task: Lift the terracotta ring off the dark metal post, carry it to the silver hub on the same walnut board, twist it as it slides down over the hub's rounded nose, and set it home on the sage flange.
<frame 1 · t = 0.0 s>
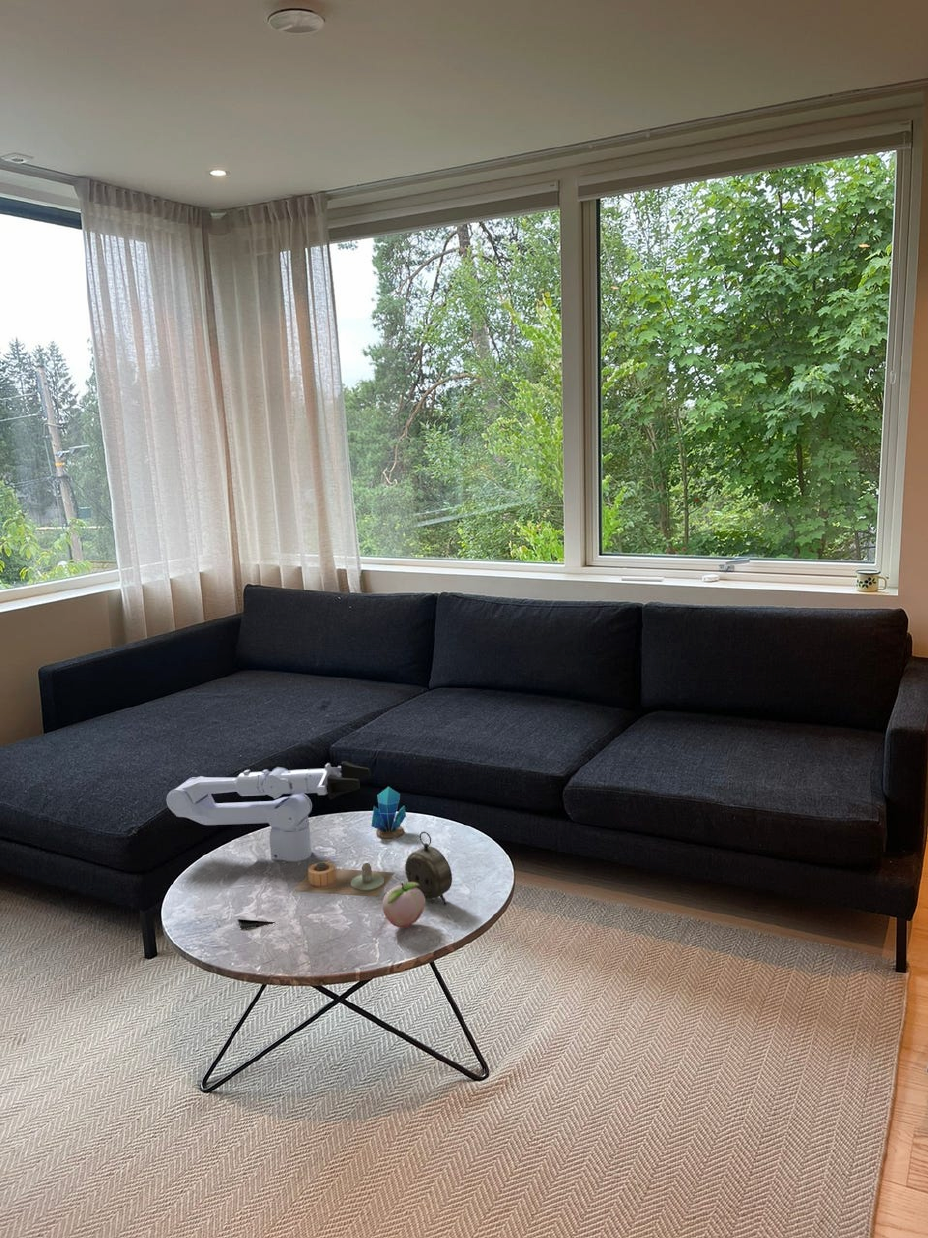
hand: (364, 778, 225), 22 cm above the table, tool horizontal, fingers open, 7 cm apart
gemstone: (389, 834, 247), on the table
stand board: (345, 886, 218), on the table
decorative fruit: (404, 928, 198), on the table
alarm clock: (428, 901, 209), on the table
ring: (322, 880, 219), point 1 cm above the table, touching stand board
black tapered piece: (254, 913, 209), on the table
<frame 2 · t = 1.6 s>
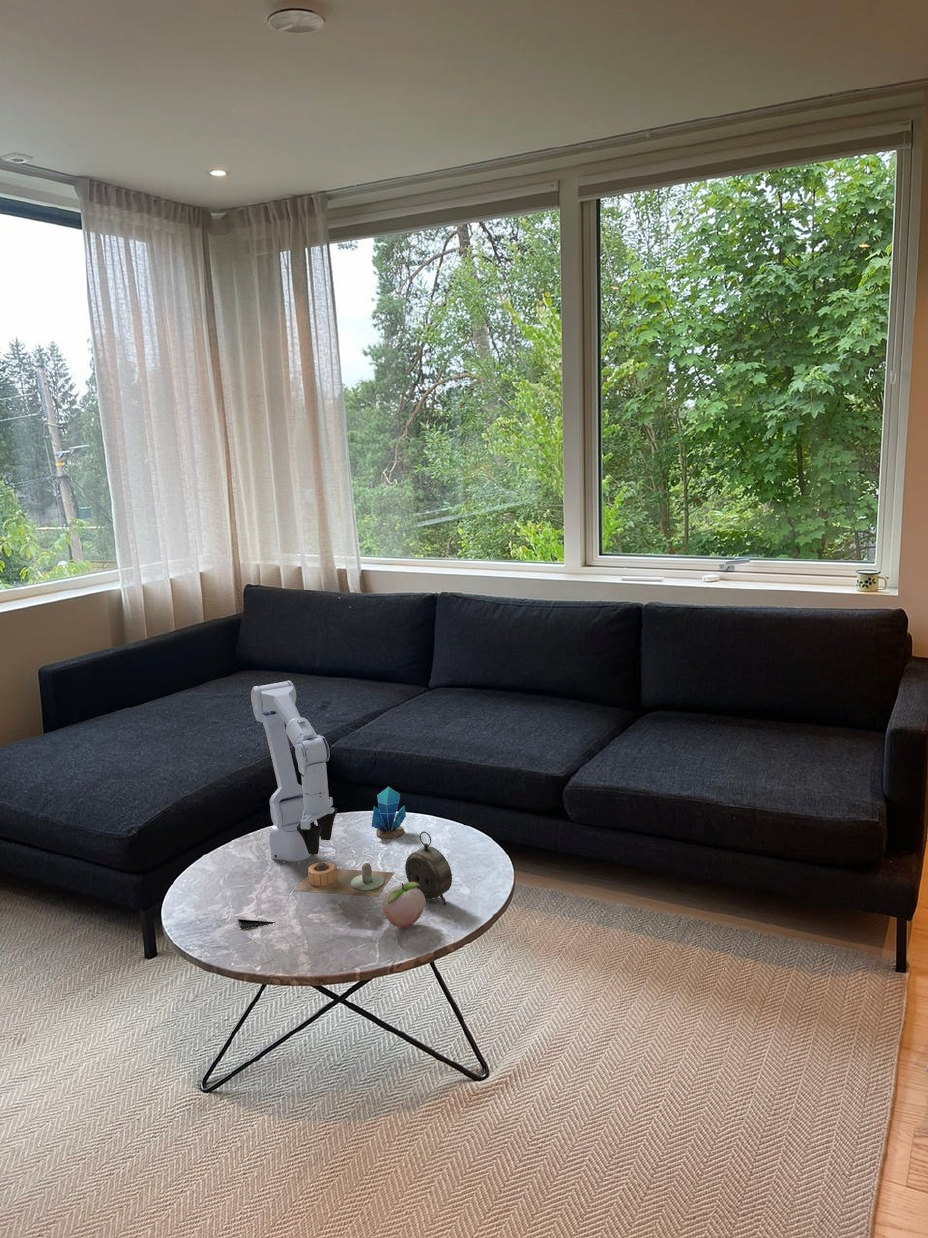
hand: (319, 846, 218), 9 cm above the table, tool pointing down, fingers open, 7 cm apart
nothing on the table moved.
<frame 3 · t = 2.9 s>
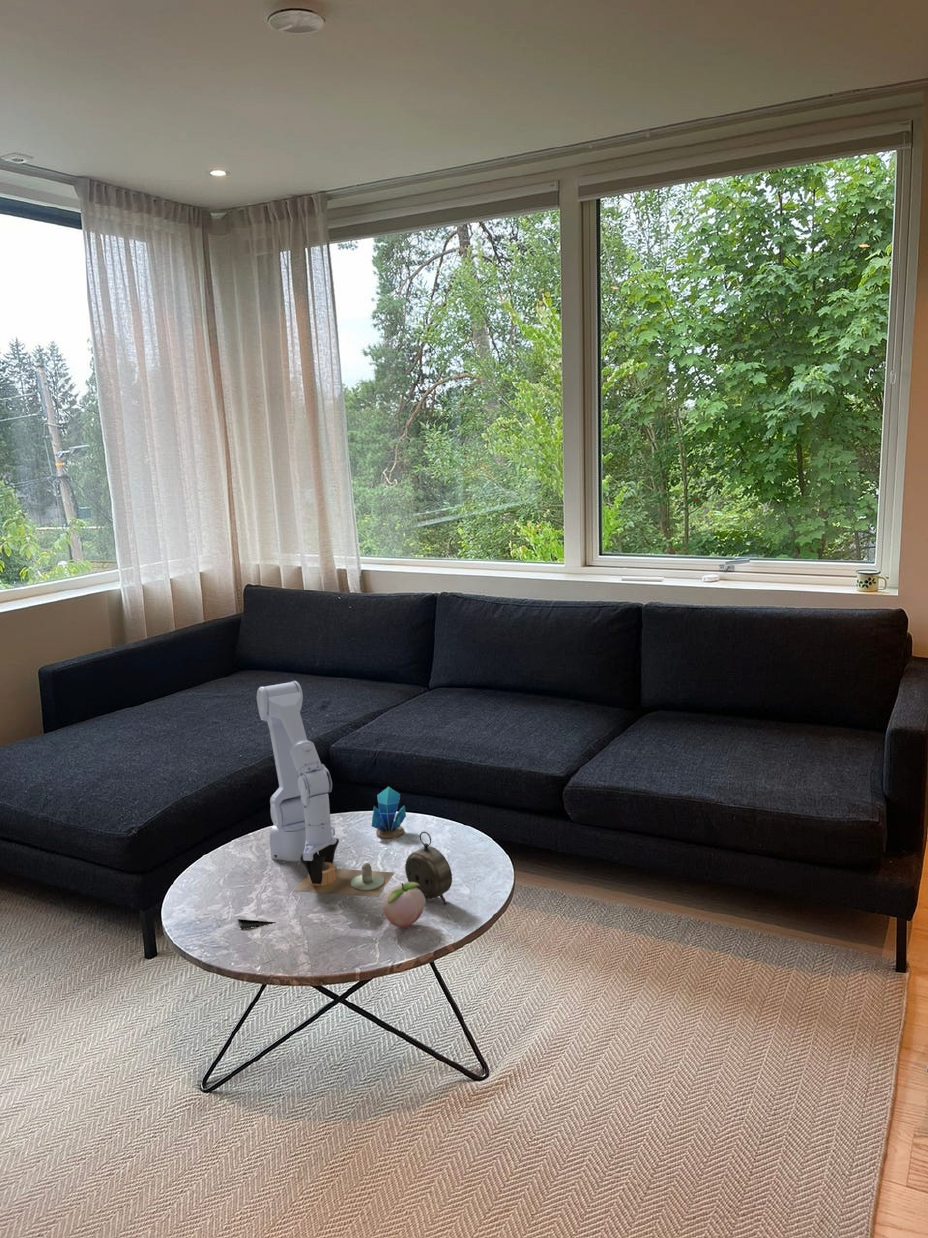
hand: (322, 876, 219), 2 cm above the table, tool pointing down, fingers closed on ring, 6 cm apart
ring: (322, 880, 219), point 1 cm above the table, touching gripper, stand board
everything else where it was.
when the fingers open (3 cm above the table, at t = 7.0 s): ring stays where it is, resting on stand board.
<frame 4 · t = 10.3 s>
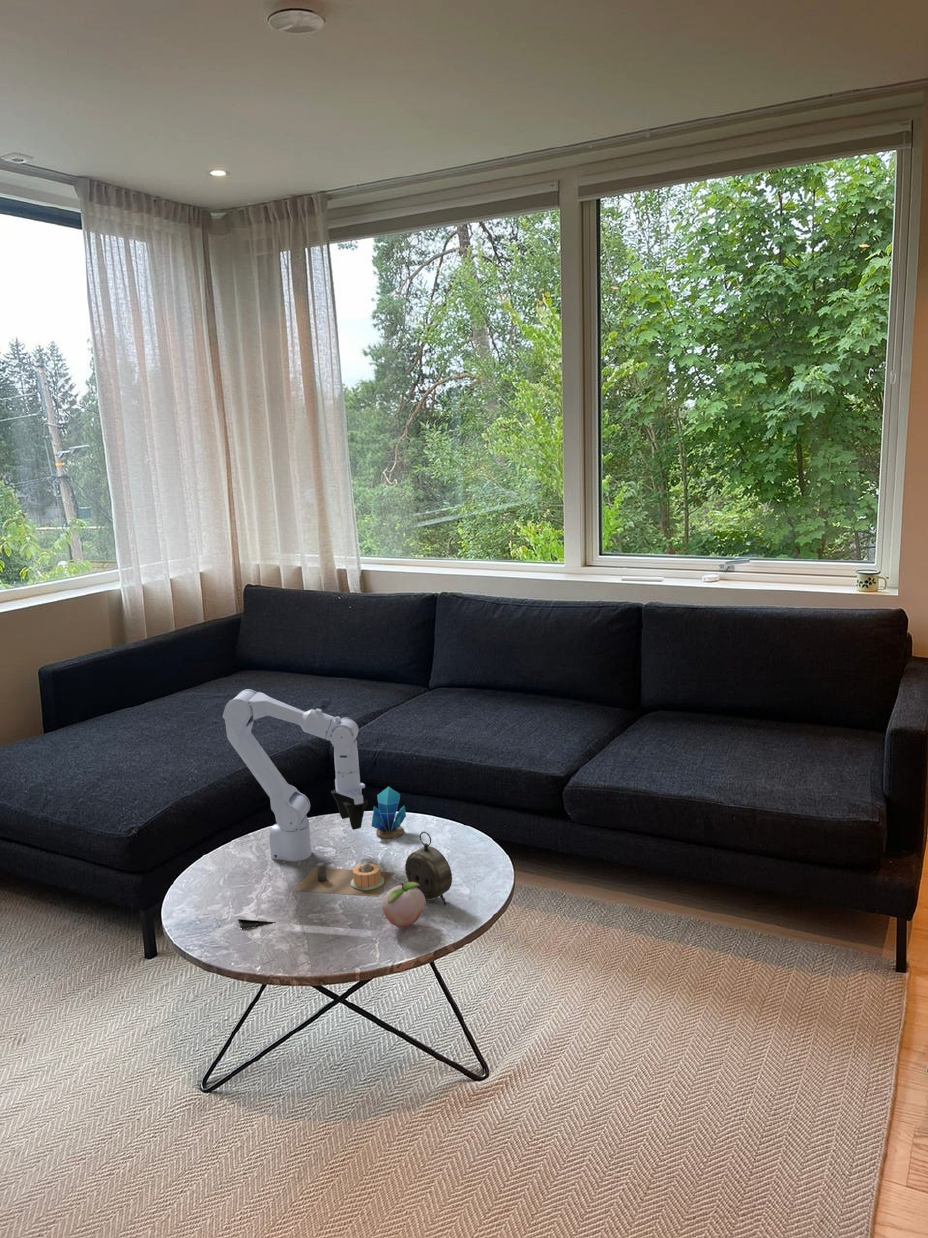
hand: (351, 823, 230), 9 cm above the table, tool pointing down, fingers open, 7 cm apart
ring: (367, 881, 216), point 2 cm above the table, touching stand board
everything else where it was.
at the end: ring 0.1 cm from the target spot on the stand board, point 1.6 cm above the stand board's base; ring tilted 0°; the gripper is holding nothing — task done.
